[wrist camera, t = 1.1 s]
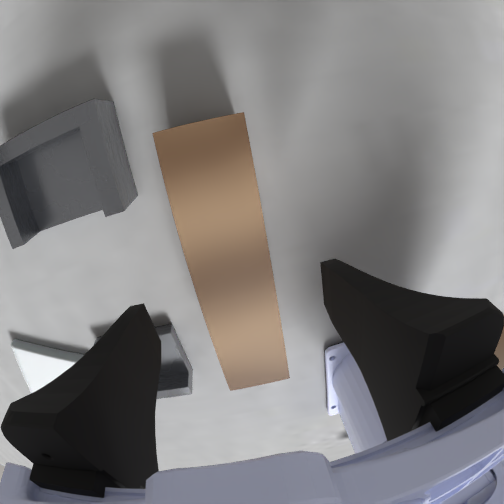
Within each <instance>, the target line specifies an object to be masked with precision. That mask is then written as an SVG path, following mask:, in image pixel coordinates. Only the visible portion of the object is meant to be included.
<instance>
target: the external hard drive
mask: <svg viewBox="0 0 504 504" xmlns="http://www.w3.org/2000/svg"><path fill="white" fill-rule="evenodd" d="M11 347H12V350H13V352H14V355H15V358H16V360H17V363H18V365H19V367H20V370H21V372H22V374H23V377H24V379H25V381H26V383H27V386H28V388H29V390H30V392H31V393H33V392H35V391H37V390H38V389H40V388H42V387H44V386H45V385H47V384H48V383H50V382H51V381H53V380H54V379H56V378H57V377H58V376H60V375H61V374H62V373H64V372H65V371H66V370H68V369H69V368H70V367H71V366H73V365H74V364H75V363H76V362H77V361H78V360H79V359H81V358H82V357H83V356H84V355H83V354H78V353H73V352H68V351H63V350H58V349H54V348H50V347H45V346H41V345H37V344H33V343H29V342H25V341H21V340H18V339H14V341H13V342H12V344H11Z"/></svg>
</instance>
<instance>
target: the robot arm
mask: <svg viewBox="0 0 504 504" xmlns="http://www.w3.org/2000/svg"><path fill="white" fill-rule="evenodd" d="M320 263H321V273H322V284H323V295H324V305H325V307H326V309H327V312H328V314H329V317H330V319H331V321H332V323H333V325H334V327H335V328H336V330H337V332H338V333H339V335H340V337H341V338H342V340H343V342H344V343H341V344H337V345H334V346H331V347H328V348H327V349H326V350H325V365H326V384H327V410H328V414H329V415H335V414H338V413H339V414H340V417H341V419H342V422H343V424H344V426H345V429H346V431H347V434H348V436H349V439H350V441H351V444H352V446H353V449H354V451H355V454H353V455H350V456H347V457H344V458H341V459H338V460H335V461H332V462H329V461H328V459H327V458H326V457H325V456H324V455H323V454H320V453H316V452H307V451H296V452H289V453H281V454H275V455H271V456H266V457H261V458H256V459H250V460H245V461H239V462H232V463H225V464H218V465H210V466H201V467H190V468H177V469H170V470H165V471H158V463H157V454H156V439H155V407H156V398H157V391H158V383H159V376H160V369H161V340H160V338H159V336H158V333H157V331H156V329H155V327H154V325H153V323H152V321H151V319H150V316H149V314H148V312H147V310H146V307H145V305H144V304H139V305H134V306H130V307H129V308H128V309H127V310H126V311H125V312H124V313H123V314H122V315H121V316H120V317H119V318H118V320H117V321H116V322H115V323H114V324H113V325H112V326H111V327H110V329H109V330H108V331H107V332H106V333H105V334H104V335H103V336H102V337H101V338H100V339H99V341H98V342H97V343H96V344H95V345H94V346H93V347H92V348H91V349H90V350H89V351H88V352H87V353H86V354H85V355H84V356H83V357H82V358H81V359H79V360H78V361H77V362H76V363H75V364H74V365H73V366H71V367H70V368H69V369H68V370H66V371H65V372H64V373H62V374H61V375H60V376H58V377H57V378H56V379H54V380H53V381H51V382H50V383H48V384H47V385H45V386H44V387H42V388H40V389H38V390H37V391H35V392H33V393H31V394H29V395H27V396H25V397H23V398H21V399H19V400H17V401H15V402H12V403H11V404H10V406H9V408H8V410H7V413H6V415H5V417H4V420H3V422H2V424H1V430H2V432H3V435H4V436H5V438H6V439H7V440H8V441H9V442H10V443H11V444H12V445H13V446H14V447H15V448H16V449H17V450H18V451H19V452H21V453H22V454H23V455H24V456H25V457H26V458H28V459H29V460H30V461H31V462H32V463H34V464H33V468H32V470H31V469H29V468H27V467H25V466H21V465H17V464H13V463H9V462H8V463H6V465H5V469H4V472H3V476H2V479H1V482H0V504H504V368H503V369H502V371H501V370H500V369H499V368H498V366H497V364H498V363H499V359H498V358H497V357H496V356H495V355H494V352H495V349H496V347H497V344H498V341H499V339H500V336H501V333H502V330H503V326H504V316H503V313H502V312H501V311H500V310H499V309H498V308H497V307H495V306H494V305H493V304H492V303H491V302H490V301H489V300H488V299H471V298H452V297H443V296H436V295H431V294H426V293H421V292H417V291H413V290H409V289H406V288H403V287H399V286H396V285H393V284H391V283H388V282H385V281H383V280H380V279H378V278H376V277H373V276H371V275H369V274H367V273H364V272H362V271H360V270H358V269H356V268H354V267H352V266H350V265H348V264H346V263H344V262H342V261H339V260H337V259H332V260H328V261H324V262H320ZM331 356H332V357H331Z"/></svg>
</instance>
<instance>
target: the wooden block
mask: <svg viewBox="0 0 504 504" xmlns="http://www.w3.org/2000/svg"><path fill="white" fill-rule="evenodd" d="M153 137H154V141H155V146H156V150H157V154H158V158H159V163H160V167H161V171H162V175H163V179H164V183H165V187H166V190H167V194H168V198H169V202H170V206H171V209H172V213H173V217H174V220H175V224H176V227H177V231H178V235H179V238H180V241H181V245H182V248H183V252H184V255H185V259H186V262H187V265H188V268H189V272H190V275H191V278H192V281H193V285H194V288H195V291H196V294H197V297H198V300H199V303H200V306H201V310H202V313H203V316H204V319H205V322H206V325H207V328H208V330H209V333H210V336H211V339H212V342H213V345H214V348H215V351H216V353H217V356H218V359H219V362H220V365H221V367H222V370H223V373H224V375H225V378H226V381H227V384H228V386H229V389H230V391H231V390H237V389H242V388H247V387H252V386H257V385H262V384H266V383H271V382H275V381H280V380H284V379H288V378H290V377H289V370H288V364H287V357H286V351H285V345H284V338H283V332H282V326H281V320H280V314H279V308H278V301H277V295H276V289H275V283H274V277H273V271H272V266H271V260H270V254H269V248H268V242H267V236H266V231H265V225H264V219H263V214H262V208H261V202H260V197H259V191H258V186H257V180H256V175H255V169H254V164H253V158H252V153H251V148H250V142H249V137H248V132H247V126H246V121H245V116H244V112H243V113H237V114H232V115H227V116H222V117H217V118H212V119H207V120H203V121H198V122H194V123H190V124H186V125H182V126H178V127H174V128H170V129H166V130H162V131H159V132H155V133H153Z"/></svg>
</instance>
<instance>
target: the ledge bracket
mask: <svg viewBox="0 0 504 504" xmlns="http://www.w3.org/2000/svg"><path fill="white" fill-rule="evenodd" d="M155 329H156V331H157V333H158V336H159V338H160V340H161V369H160V376H159V383H158V391H157V398H156V399H159V398H168V397H175V396H182V395H189V394H192V370H193V369H192V367H191V365H190V363H189V361H188V359H187V356H186V354H185V352H184V350H183V348H182V345H181V343H180V341H179V339H178V337H177V334H176V332H175V330H174V327H173V325H172V324H170V325H165V326H159V327H155ZM100 338H101V337H98V338H97V339H96V341H95V344H96V343H97V342H98V341H99V339H100ZM95 344H94V345H95Z"/></svg>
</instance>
